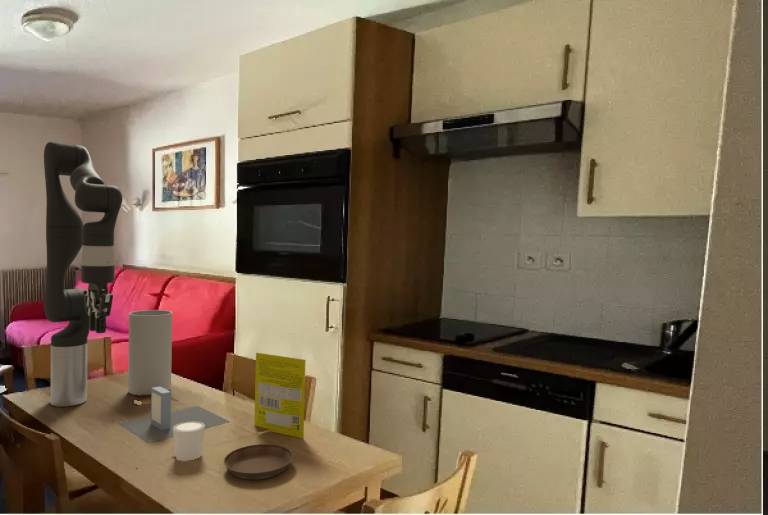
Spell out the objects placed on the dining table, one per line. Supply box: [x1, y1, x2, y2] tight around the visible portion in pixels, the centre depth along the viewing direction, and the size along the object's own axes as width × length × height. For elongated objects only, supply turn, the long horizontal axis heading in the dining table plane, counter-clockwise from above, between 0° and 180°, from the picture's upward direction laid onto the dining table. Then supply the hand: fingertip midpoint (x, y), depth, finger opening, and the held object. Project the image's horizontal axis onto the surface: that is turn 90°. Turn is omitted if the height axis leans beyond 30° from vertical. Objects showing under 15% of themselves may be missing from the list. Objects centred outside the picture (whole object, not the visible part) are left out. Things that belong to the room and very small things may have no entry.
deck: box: [150, 386, 172, 430], centre depth 138 cm, size 6×2×10 cm, turn 47°
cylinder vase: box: [127, 309, 173, 397], centre depth 170 cm, size 12×12×25 cm
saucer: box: [223, 443, 294, 481], centre depth 117 cm, size 15×15×3 cm
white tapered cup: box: [173, 421, 206, 461], centre depth 122 cm, size 7×7×7 cm
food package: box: [253, 352, 306, 439], centre depth 137 cm, size 15×1×20 cm, turn 65°
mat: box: [118, 405, 231, 444], centre depth 141 cm, size 18×22×1 cm
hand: (97, 331), depth 135 cm, fingers open, 3 cm apart
